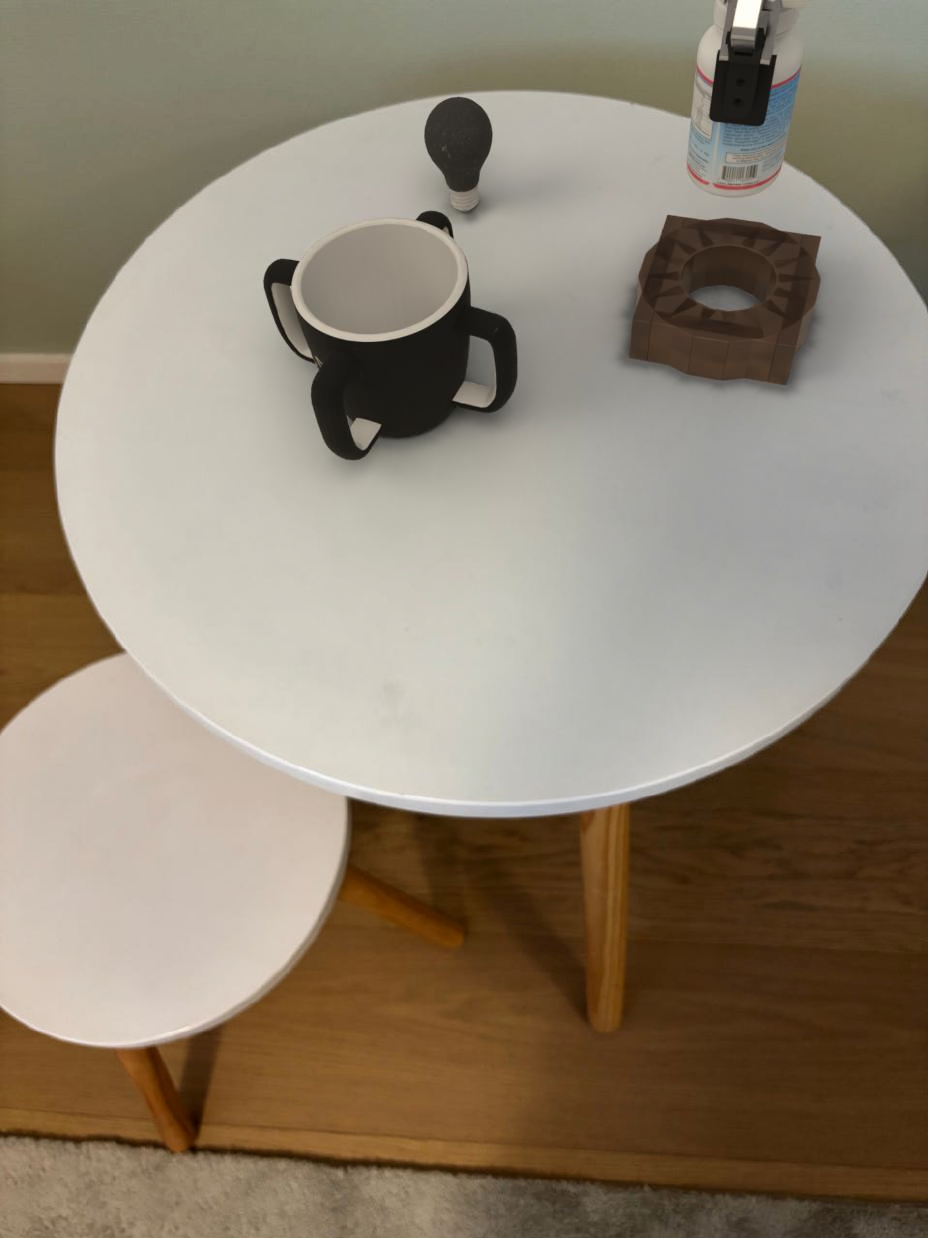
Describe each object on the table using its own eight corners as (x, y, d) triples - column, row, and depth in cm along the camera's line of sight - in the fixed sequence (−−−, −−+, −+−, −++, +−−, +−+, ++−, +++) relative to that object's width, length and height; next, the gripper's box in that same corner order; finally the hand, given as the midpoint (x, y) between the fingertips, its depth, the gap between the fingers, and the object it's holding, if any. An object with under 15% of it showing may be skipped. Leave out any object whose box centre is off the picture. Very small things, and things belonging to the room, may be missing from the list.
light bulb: (431, 192, 93) (417, 86, 84) (493, 184, 92) (486, 77, 84) (436, 233, 90) (422, 128, 81) (500, 225, 90) (493, 119, 81)
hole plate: (820, 272, 84) (831, 231, 80) (793, 393, 77) (804, 354, 74) (657, 248, 87) (661, 207, 83) (618, 362, 80) (621, 324, 77)
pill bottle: (795, 156, 67) (833, -24, 58) (756, 212, 65) (789, 34, 55) (709, 131, 69) (732, -46, 60) (668, 185, 67) (685, 9, 57)
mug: (285, 348, 84) (246, 226, 74) (475, 301, 85) (463, 174, 75) (320, 503, 76) (282, 389, 66) (531, 449, 77) (526, 328, 66)
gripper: (871, -200, 42) (788, 186, 57) (913, -369, 50) (830, 10, 65) (685, -208, 43) (653, 169, 59) (755, -370, 51) (711, 0, 67)
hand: (747, 82), depth 62 cm, fingers closed on pill bottle, 6 cm apart
